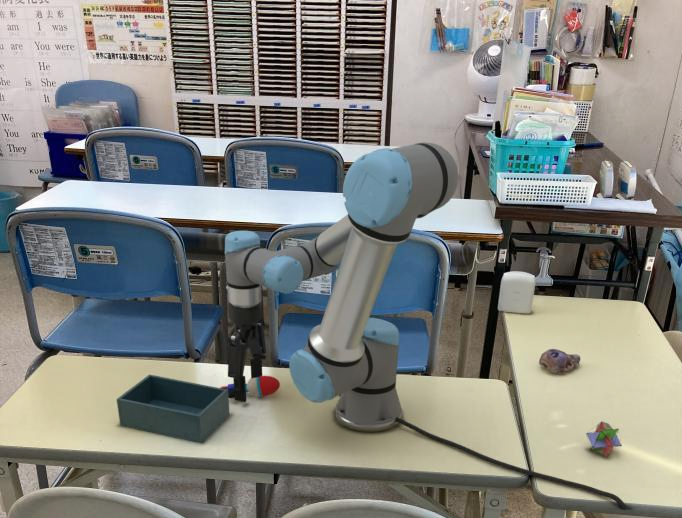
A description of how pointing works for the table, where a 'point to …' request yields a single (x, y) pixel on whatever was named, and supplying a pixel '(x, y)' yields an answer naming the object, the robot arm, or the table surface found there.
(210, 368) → the table surface
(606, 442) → the geometric puzzle
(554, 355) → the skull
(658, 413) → the table surface
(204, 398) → the tote
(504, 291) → the photo printer
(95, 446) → the table surface
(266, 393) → the toy figure
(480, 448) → the table surface
